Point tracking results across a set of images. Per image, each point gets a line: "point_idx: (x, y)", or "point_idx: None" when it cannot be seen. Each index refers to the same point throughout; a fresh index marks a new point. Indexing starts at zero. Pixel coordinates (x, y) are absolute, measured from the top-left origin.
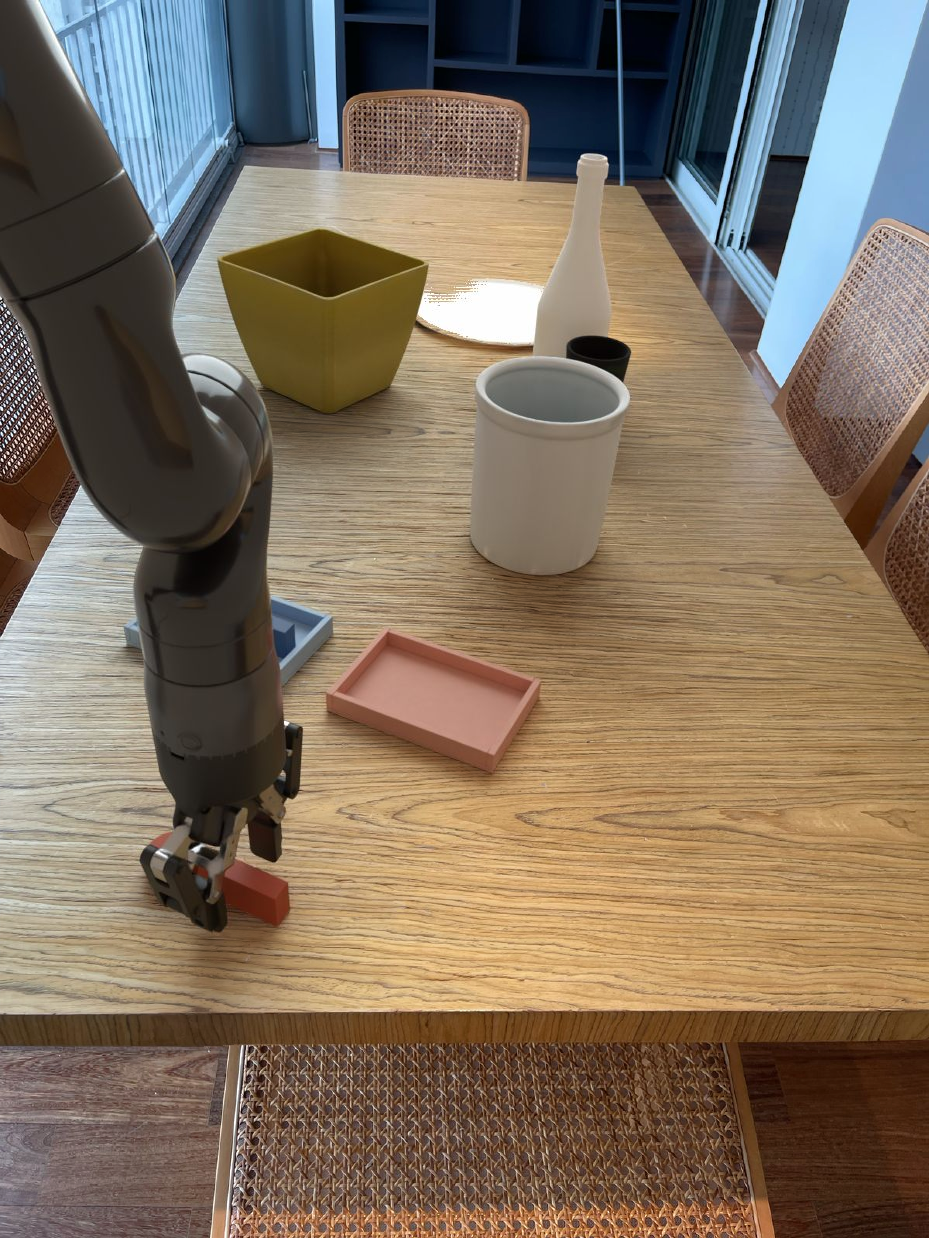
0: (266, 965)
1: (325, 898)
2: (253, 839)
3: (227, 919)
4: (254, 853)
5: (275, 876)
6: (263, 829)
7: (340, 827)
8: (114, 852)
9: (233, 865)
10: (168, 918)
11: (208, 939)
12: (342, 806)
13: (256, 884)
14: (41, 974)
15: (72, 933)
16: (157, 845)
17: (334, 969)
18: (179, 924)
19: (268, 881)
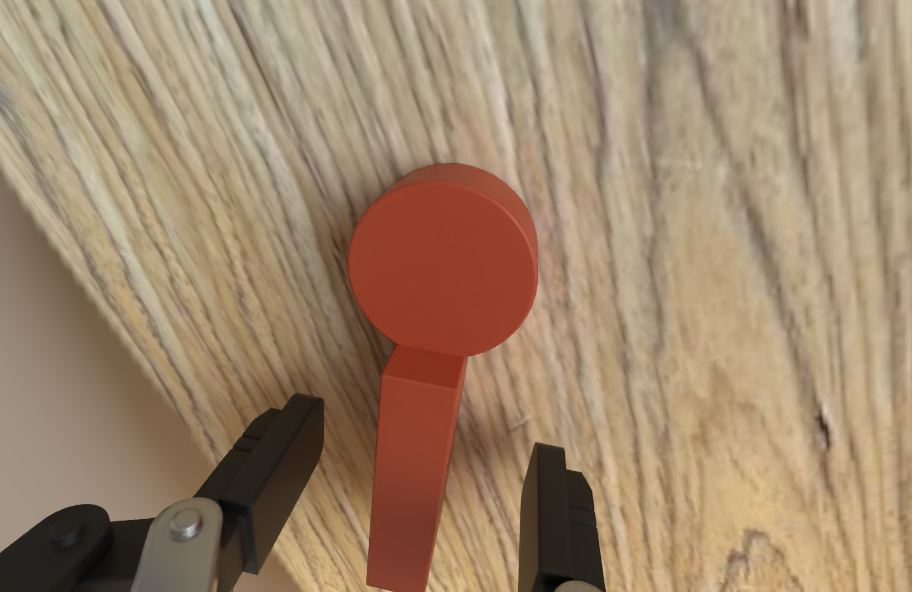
0: (314, 497)
1: (492, 549)
2: (534, 496)
3: (311, 473)
4: (533, 449)
5: (426, 575)
6: (526, 587)
7: (696, 543)
8: (444, 12)
9: (417, 490)
10: (313, 294)
11: (310, 392)
12: (771, 537)
13: (386, 547)
14: (25, 74)
15: (151, 76)
16: (447, 213)
17: (359, 582)
18: (312, 324)
19: (405, 568)
